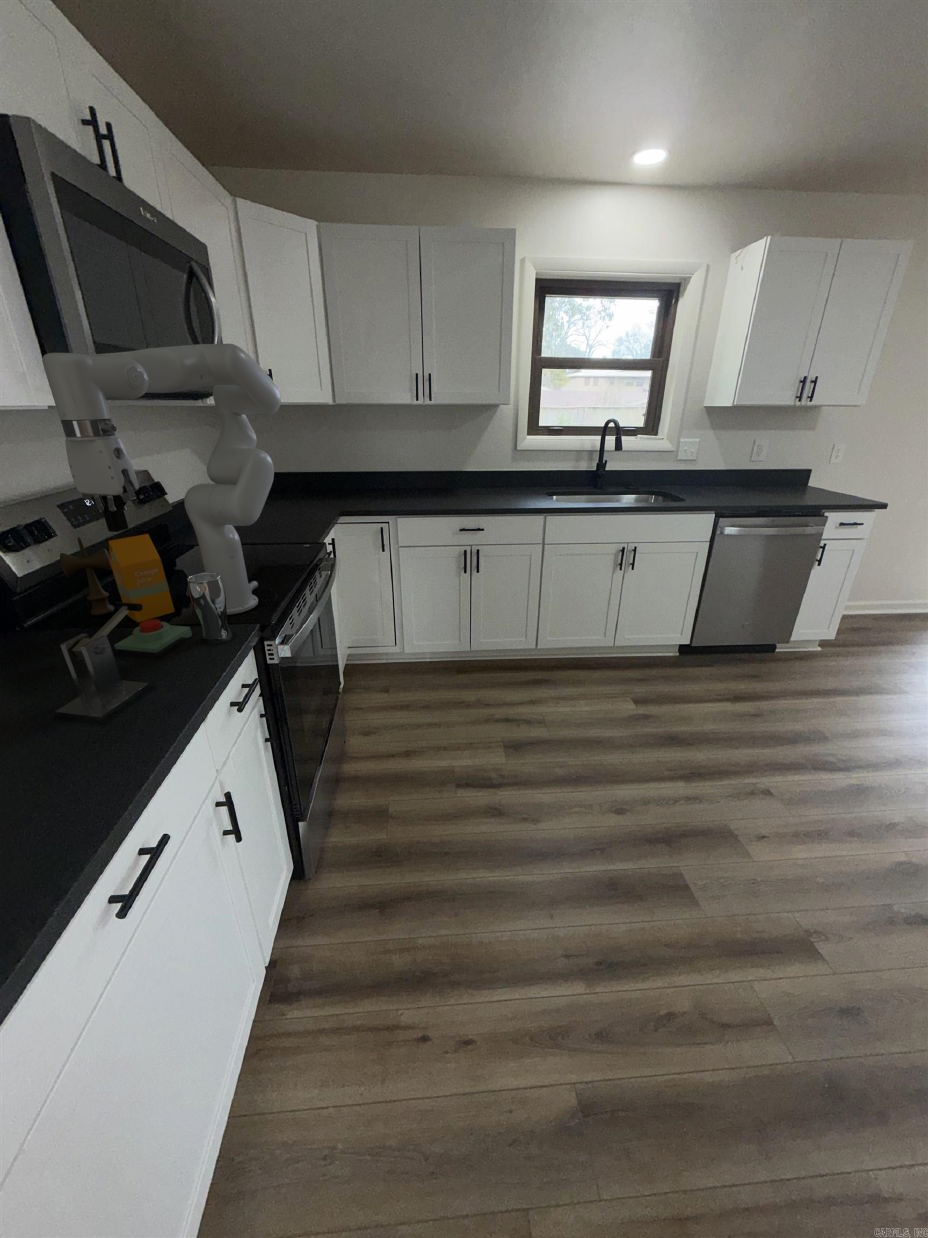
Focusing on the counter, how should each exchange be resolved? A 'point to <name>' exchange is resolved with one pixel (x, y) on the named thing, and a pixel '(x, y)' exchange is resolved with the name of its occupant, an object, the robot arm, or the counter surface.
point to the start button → (150, 625)
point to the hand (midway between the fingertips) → (118, 529)
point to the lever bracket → (95, 678)
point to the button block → (153, 638)
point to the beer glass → (210, 605)
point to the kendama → (90, 576)
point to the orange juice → (140, 576)
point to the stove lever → (109, 624)
